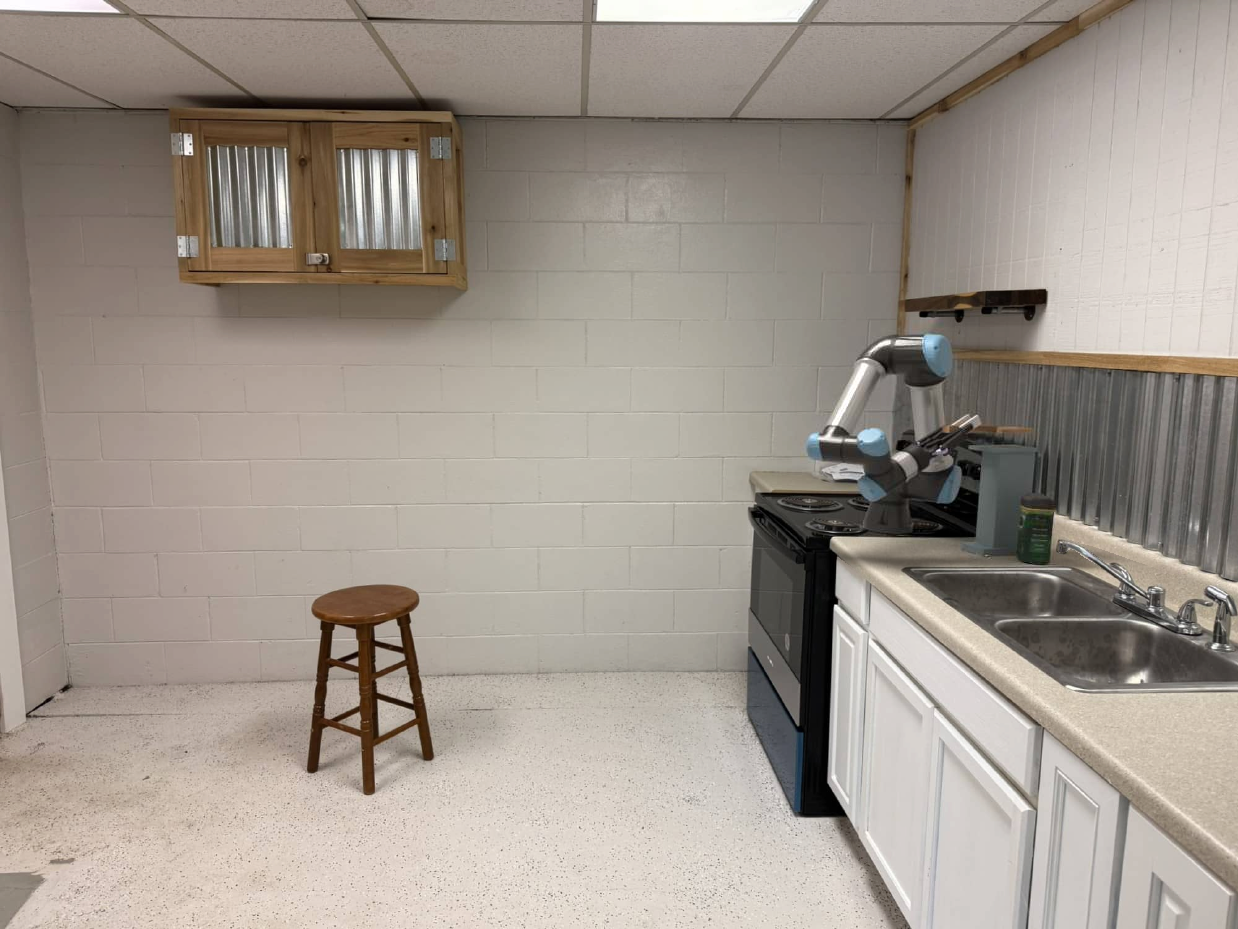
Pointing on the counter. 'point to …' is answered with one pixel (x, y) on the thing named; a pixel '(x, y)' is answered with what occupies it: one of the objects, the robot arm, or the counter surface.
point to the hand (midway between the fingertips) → (974, 418)
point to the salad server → (989, 429)
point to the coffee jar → (1035, 528)
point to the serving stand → (1001, 497)
